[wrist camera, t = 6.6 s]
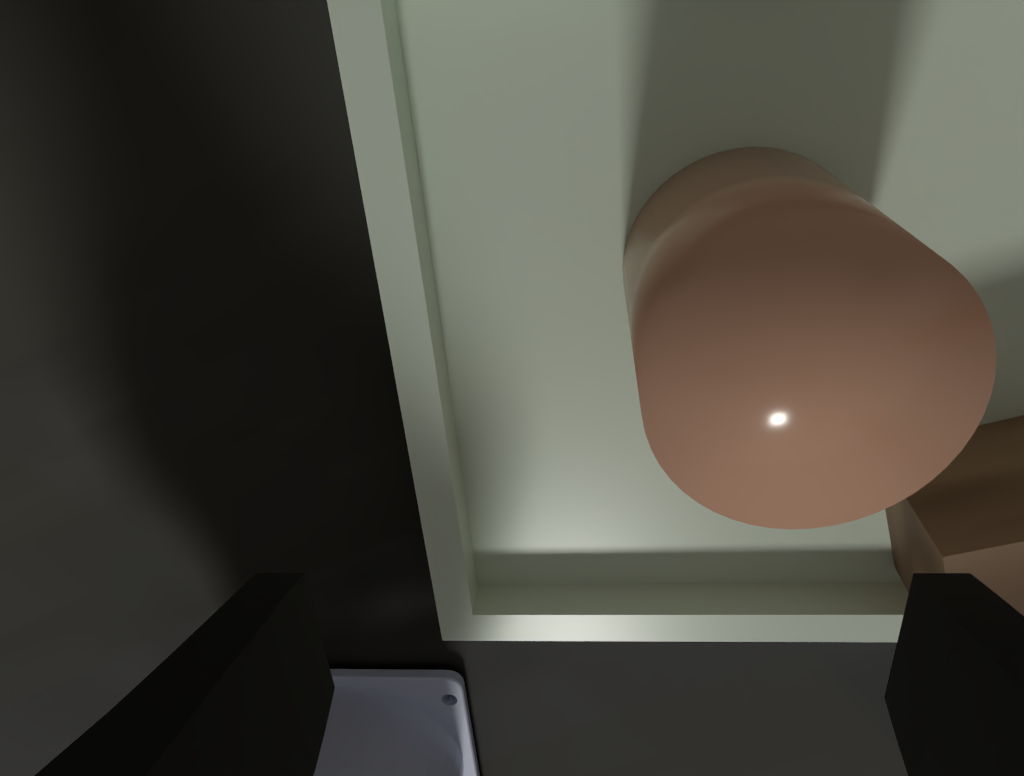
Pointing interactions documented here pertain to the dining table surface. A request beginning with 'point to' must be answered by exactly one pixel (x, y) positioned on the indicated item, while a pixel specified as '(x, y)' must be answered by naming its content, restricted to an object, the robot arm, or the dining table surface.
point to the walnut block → (969, 515)
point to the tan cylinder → (797, 343)
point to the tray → (599, 278)
